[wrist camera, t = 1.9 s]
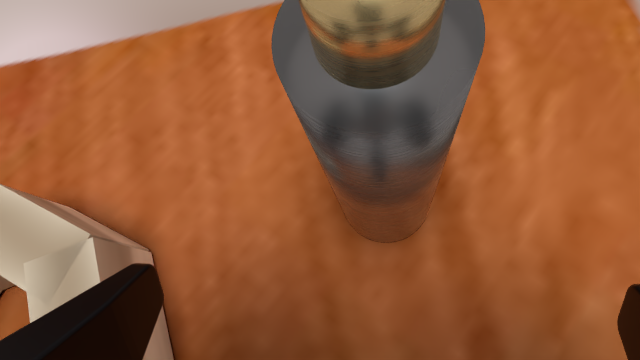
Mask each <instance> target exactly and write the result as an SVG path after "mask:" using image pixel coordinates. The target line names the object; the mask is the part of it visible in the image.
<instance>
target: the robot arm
mask: <svg viewBox="0 0 640 360" xmlns="http://www.w3.org/2000/svg"><path fill="white" fill-rule="evenodd" d="M163 301H164V294H163V290H162V287H161V284H160V281H159V278H158V274H157V271H156V269H155V267H154V266H153V265H152V264H147V263H133V264H131V265H129V266H127V267H126V268H124V269H122V270H120V271H119V272H117V273H115V274H114V275H112V276H110V277H108V278H107V279H105V280H103V281H102V282H100V283H98V284H96V285H95V286H93V287H91V288H90V289H88V290H86V291H84V292H83V293H81V294H79V295H78V296H76V297H74V298H72V299H71V300H69V301H67V302H66V303H64V304H62V305H60V306H59V307H57V308H55V309H54V310H52V311H50V312H48V313H47V314H45V315H43V316H42V317H40V318H38V319H36V320H35V321H33V322H31V323H30V324H28V325H26V326H24V327H23V328H21V329H19V330H18V331H16V332H14V333H12V334H11V335H9V336H7V337H6V338H4V339H2V340H0V360H143V357H144V355H145V352H146V349H147V347H148V344H149V341H150V338H151V336H152V333H153V330H154V327H155V325H156V322H157V319H158V317H159V314H160V311H161V308H162V305H163ZM618 331H619V334H620V337H621V340H622V343H623V346H624V349H625V352H626V355H627V358H628V360H640V284H633V285H631V286H630V287H629V288H628V290H627V292H626V295H625V298H624V301H623V304H622V307H621V310H620V313H619V316H618Z"/></svg>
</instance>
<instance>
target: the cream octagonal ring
mask: <svg viewBox="0 0 640 360" xmlns="http://www.w3.org/2000/svg"><path fill="white" fill-rule="evenodd" d="M148 251H149V249H147V248H145V247H143V246H141V245H140V244H138V243H136V242H134V241H132V240H130V239H128V238H126V237H125V236H123V235H121V234H119V233H117V232H115V231H113V230H111V229H110V228H108V227H106V226H104V225H102V224H100V223H98V222H97V221H95V220H93V219H91V218H89V217H87V216H85V215H83V214H82V213H80V212H78V211H76V210H74V209H72V208H70V207H67V206H64V205H61V204H58V203H55V202H52V201H49V200H46V199H43V198H40V197H37V196H34V195H31V194H28V193H25V192H22V191H19V190H16V189H13V188H10V187H7V186H4V185H1V184H0V293H1V292H2V290H4V289H7V288H9V287H12V286H15V285H17V286H18V287H20V288H21V289H23V290H25V291H26V292H27V299H28V308H29V317H30V323H31V322H33V321H35V320H36V319H38V318H40V317H42V316H43V315H45V314H47V313H48V312H50V311H52V310H54V309H55V308H57V307H59V306H60V305H62V304H64V303H66V302H67V301H69V300H71V299H72V298H74V297H76V296H78V295H79V294H81V293H83V292H84V291H86V290H88V289H90V288H91V287H93V286H95V285H96V284H98V283H100V282H102V281H103V280H105V279H107V278H108V277H110V276H112V275H114V274H115V273H117V272H119V271H120V270H122V269H124V268H126V267H127V266H129V265H131V264H133V263H147V264H152V265H153V266H154V263H153V258H152V254H151V252H148ZM143 360H174V358H173V353H172V348H171V344H170V339H169V334H168V329H167V325H166V320H165V315H164V310H163V306H162V308H161V311H160V314H159V317H158V319H157V322H156V325H155V327H154V330H153V333H152V336H151V338H150V341H149V344H148V347H147V349H146V352H145V355H144V357H143Z"/></svg>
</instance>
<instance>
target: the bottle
mask: <svg viewBox="0 0 640 360" xmlns="http://www.w3.org/2000/svg"><path fill="white" fill-rule="evenodd" d="M484 41H485V23H484V16H483V12H482V9H481V5H480V3H479V1H478V0H284V2H283V4H282V6H281V8H280V10H279V12H278V14H277V18H276V21H275V24H274V28H273V34H272V54H273V61H274V65H275V68H276V71H277V74H278V76H279V78H280V80H281V83H282V85H283V87H284V89H285V91H286V93H287V95H288V97H289V99H290V101H291V103H292V105H293V108H294V110H295V112H296V114H297V116H298V118H299V120H300V122H301V124H302V126H303V128H304V130H305V133H306V135H307V137H308V139H309V141H310V143H311V145H312V147H313V149H314V151H315V153H316V155H317V157H318V160H319V162H320V164H321V166H322V168H323V170H324V172H325V174H326V176H327V178H328V180H329V182H330V185H331V187H332V189H333V191H334V193H335V195H336V197H337V199H338V201H339V203H340V205H341V207H342V209H343V212H344V214H345V216H346V218H347V220H348V221H349V223H350V225H351V226H352V227H353V228H354V229H355V230H356V231H357V232H358V233H359V234H361V235H362V236H364V237H366V238H368V239H370V240H373V241H377V242H395V241H399V240H402V239H404V238H407V237H408V236H410V235H412V234H413V233H414V232H415V231H417V230H418V229H419V227H420V226H421V225H422V224H423V222H424V220H425V218H426V216H427V213H428V211H429V208H430V205H431V202H432V199H433V196H434V193H435V190H436V187H437V184H438V181H439V178H440V175H441V173H442V170H443V167H444V164H445V161H446V158H447V155H448V152H449V149H450V146H451V143H452V140H453V137H454V134H455V131H456V129H457V126H458V123H459V120H460V117H461V114H462V111H463V108H464V105H465V102H466V99H467V96H468V93H469V90H470V88H471V85H472V82H473V79H474V76H475V73H476V70H477V67H478V64H479V61H480V58H481V55H482V52H483V47H484Z"/></svg>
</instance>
